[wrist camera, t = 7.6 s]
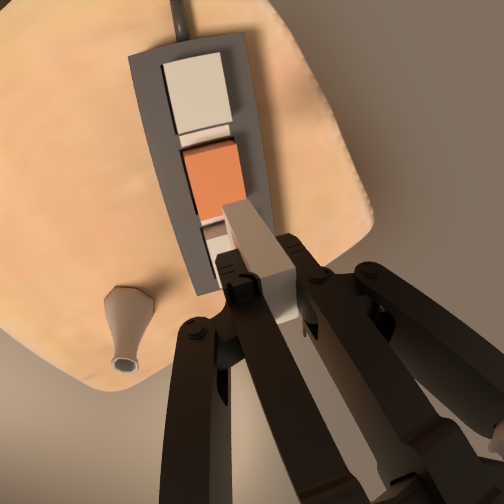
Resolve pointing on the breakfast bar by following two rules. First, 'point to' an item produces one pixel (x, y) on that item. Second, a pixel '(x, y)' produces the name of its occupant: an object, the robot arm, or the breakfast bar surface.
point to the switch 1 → (198, 92)
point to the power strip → (199, 138)
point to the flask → (127, 325)
